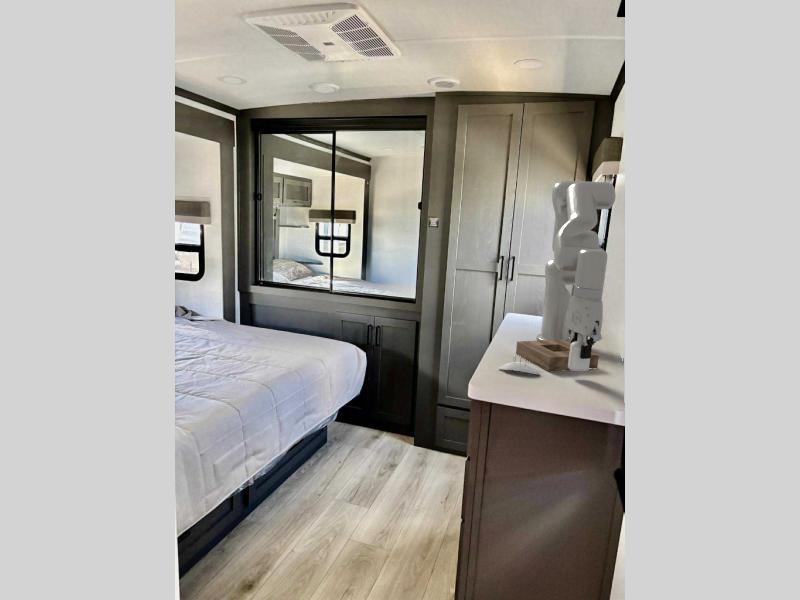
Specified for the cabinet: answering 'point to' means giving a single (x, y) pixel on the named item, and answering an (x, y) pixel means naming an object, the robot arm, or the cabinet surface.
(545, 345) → the walnut socket block
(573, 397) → the cabinet surface
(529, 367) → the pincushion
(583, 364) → the eye dropper bottle
